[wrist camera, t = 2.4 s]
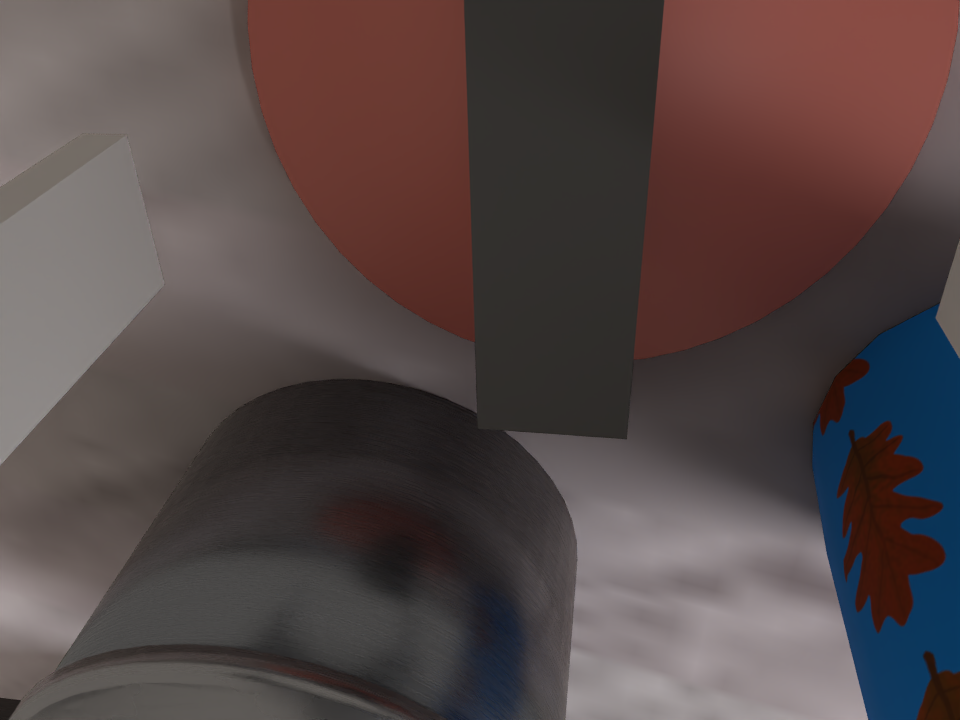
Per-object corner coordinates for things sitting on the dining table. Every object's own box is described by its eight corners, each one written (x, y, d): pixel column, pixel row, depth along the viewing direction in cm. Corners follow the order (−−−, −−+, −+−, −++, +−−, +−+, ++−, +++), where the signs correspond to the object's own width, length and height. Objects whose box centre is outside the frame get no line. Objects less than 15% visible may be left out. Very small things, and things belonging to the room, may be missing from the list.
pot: (681, 393, 27) (707, 733, 18) (643, 700, 36) (646, 1046, 26) (68, 353, 30) (-207, 627, 20) (167, 646, 39) (6, 940, 29)
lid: (1042, -387, 17) (1400, -542, 9) (856, 352, 26) (952, 594, 18) (212, -343, 19) (-82, -435, 11) (312, 321, 28) (189, 525, 21)
